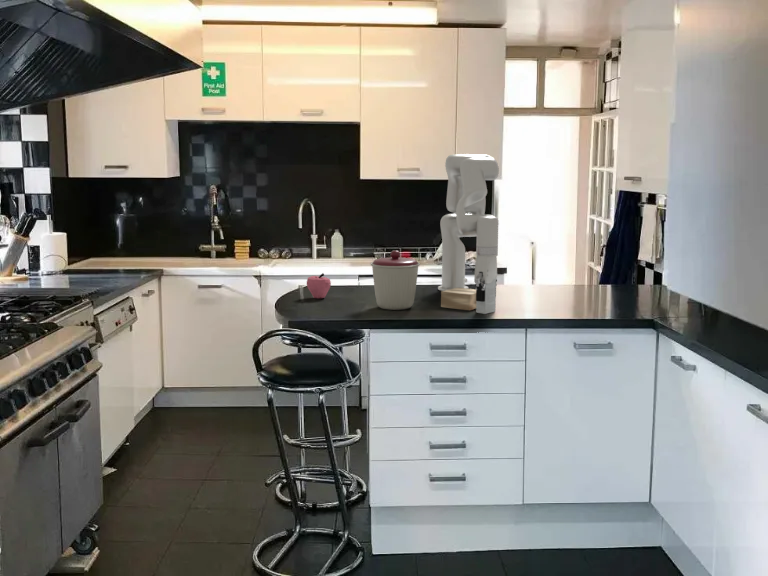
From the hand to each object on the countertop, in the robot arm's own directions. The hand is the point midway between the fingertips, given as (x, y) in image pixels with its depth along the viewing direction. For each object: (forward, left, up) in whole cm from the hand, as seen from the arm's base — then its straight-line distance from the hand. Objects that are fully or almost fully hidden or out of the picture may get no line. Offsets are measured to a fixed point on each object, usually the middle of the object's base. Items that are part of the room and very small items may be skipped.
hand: (486, 299), depth 290 cm
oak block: (-7, -12, -5) cm, 15 cm away
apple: (+6, -68, -5) cm, 69 cm away
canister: (+9, -32, -5) cm, 34 cm away
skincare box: (0, 0, -5) cm, 5 cm away
